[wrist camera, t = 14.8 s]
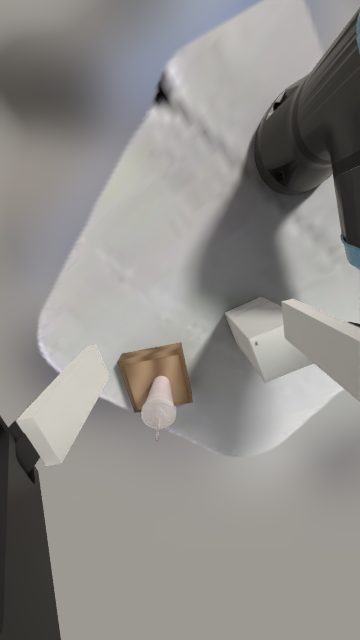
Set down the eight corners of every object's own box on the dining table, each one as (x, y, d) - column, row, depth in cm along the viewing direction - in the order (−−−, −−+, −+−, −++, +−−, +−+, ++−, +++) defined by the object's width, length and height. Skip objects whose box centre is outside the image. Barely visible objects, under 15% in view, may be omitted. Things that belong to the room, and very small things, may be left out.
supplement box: (236, 345, 48) (263, 385, 33) (223, 312, 45) (246, 339, 31) (273, 330, 47) (317, 364, 32) (262, 295, 44) (305, 315, 30)
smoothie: (148, 395, 46) (138, 453, 33) (145, 371, 44) (133, 422, 31) (176, 393, 46) (178, 450, 33) (174, 369, 44) (175, 419, 31)
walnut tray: (181, 342, 47) (181, 350, 43) (191, 392, 51) (192, 403, 47) (122, 353, 47) (117, 362, 43) (137, 401, 52) (134, 413, 48)
